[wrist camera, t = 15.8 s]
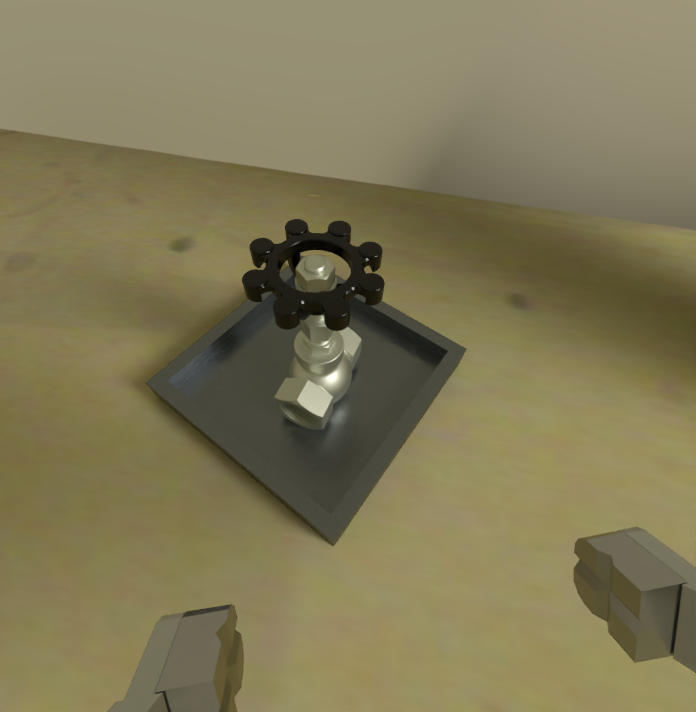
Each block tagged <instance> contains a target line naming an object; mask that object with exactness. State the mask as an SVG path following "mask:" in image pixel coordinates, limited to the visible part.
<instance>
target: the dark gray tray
mask: <svg viewBox="0 0 696 712" xmlns="http://www.w3.org/2000/svg"><path fill="white" fill-rule="evenodd" d="M300 257H301V260H302V258H303V256H300ZM279 275H280V277H281V279H282V280H283V281H284V282H285V283H286V284H287V285H289V286H290V287H292V288H294V289H296V286H295V277H294V275H293V273H292V271H291V269H290V266H288V267H287V268H286V269H284V270H283V271H282V272H281V273H280V274H279ZM336 278H337V284H341V283H344V282H346V280H344V279H342V278H340V277H338V276H337V275H336ZM261 296H262V300H263V301H262V302H253V301H250V300H249V299H248V300H246V301H245V302H244V303H243V304H242V305H240V306H239V307H238V308H237V309H235V310H234V311H233V312H232V313H231V314H229V315H228V316H227V317H226V318H224V319H223V320H222V321H221V322H220V323H218V324H217V325H216V326H215V327H213V328H212V329H211V330H210V331H209V332H207V333H206V334H205V335H204V336H202V337H201V338H200V339H199V340H198V341H196V342H195V343H194V344H193V345H191V346H190V347H189V348H188V349H187V350H185V351H184V352H183V353H182V354H180V355H179V356H178V357H177V358H176V359H174V360H173V361H172V362H171V363H169V364H168V365H167V366H166V367H165V368H163V369H162V370H161V371H160V372H158V373H157V374H156V375H155V376H154V377H152V378H151V379H150V380H149V381H147V382H146V384H147V385H148V386H149V387H150V388H151V390H152V391H153V392H154V393H155V394H156V395H157V396H158V397H159V398H160V399H161V400H162V401H163V402H165V403H166V404H167V405H168V406H169V407H170V408H172V409H173V410H174V411H175V412H176V413H178V414H179V415H180V416H181V417H182V418H183V419H185V420H186V421H187V422H188V423H189V424H190V425H192V426H193V427H194V428H195V429H196V430H198V431H199V432H200V433H201V434H202V435H203V436H205V437H206V438H207V439H208V440H209V441H211V442H212V443H213V444H214V445H215V446H216V447H218V448H219V449H220V450H221V451H222V452H223V453H225V454H226V455H227V456H228V457H229V458H231V459H232V460H233V461H234V462H235V463H236V464H238V465H239V466H240V467H241V468H242V469H243V470H245V471H246V472H247V473H248V474H249V475H251V476H252V477H253V478H254V479H255V480H256V481H258V482H259V483H260V484H261V485H262V486H264V487H265V488H266V489H267V490H268V491H269V492H271V493H272V494H273V495H274V496H275V497H276V498H278V499H279V500H280V501H281V502H282V503H284V504H285V505H286V506H287V507H288V508H289V509H291V510H292V511H293V512H294V513H295V514H296V515H298V516H299V517H300V518H301V519H302V520H304V521H305V522H306V523H307V524H308V525H309V526H311V527H312V528H313V529H314V530H315V531H316V532H318V533H319V534H320V535H321V536H322V537H324V538H325V539H326V540H327V541H328V542H329V543H331V544H332V545H333V546H334V545H335V544H336V542H337V541H338V539H339V538H340V537H341V535H342V534H343V532H344V531H345V529H346V528H347V526H348V525H349V523H350V522H351V520H352V519H353V518H354V516H355V515H356V513H357V512H358V510H359V509H360V507H361V506H362V504H363V503H364V501H365V500H366V498H367V497H368V496H369V494H370V493H371V491H372V490H373V488H374V487H375V485H376V484H377V482H378V481H379V479H380V478H381V477H382V475H383V474H384V472H385V471H386V469H387V468H388V466H389V465H390V463H391V462H392V460H393V459H394V458H395V456H396V455H397V453H398V452H399V450H400V449H401V447H402V446H403V444H404V443H405V441H406V440H407V438H408V437H409V436H410V434H411V433H412V431H413V430H414V428H415V427H416V425H417V424H418V422H419V421H420V419H421V418H422V417H423V415H424V414H425V412H426V411H427V409H428V408H429V406H430V405H431V403H432V402H433V400H434V399H435V398H436V396H437V395H438V393H439V392H440V390H441V389H442V387H443V386H444V384H445V383H446V381H447V380H448V379H449V377H450V376H451V374H452V373H453V371H454V370H455V368H456V367H457V365H458V364H459V362H460V360H461V359H462V357H463V355H464V353H465V351H466V348H464V347H462V346H460V345H459V344H457V343H455V342H453V341H452V340H450V339H448V338H446V337H444V336H443V335H441V334H439V333H437V332H436V331H434V330H432V329H430V328H429V327H427V326H425V325H423V324H421V323H420V322H418V321H416V320H414V319H413V318H411V317H409V316H407V315H406V314H404V313H402V312H400V311H399V310H397V309H395V308H393V307H391V306H390V305H388V304H386V303H384V302H383V301H381V302H380V303H378V304H377V305H373V306H369V305H365V299H366V298H365V297H363V296H362V295H359V294H356V295H355V296H354V297H353V298H352V299H351V300H350V301H348V302H349V304H350V308H351V309H350V323H349V325H348V328H350V329H351V330H353V331H354V332H355V333H356V334H357V335H358V336H359V337H360V338H361V339H362V346H361V352H360V355H359V358H358V360H357V362H356V364H355V366H354V368H353V370H352V379H351V383H350V386H349V388H348V390H347V391H346V393H345V394H344V396H343V397H342V398H341V399H340V400H338V401H337V402H336V403H334V404H333V411H332V413H331V415H330V417H329V419H328V421H327V423H326V425H325V427H324V429H320V430H314V429H308V428H305V427H302V426H300V425H298V424H296V423H294V422H292V421H290V420H289V419H287V418H286V417H284V416H283V415H282V414H281V413H280V412H279V411H278V410H277V409H276V407H275V403H274V397H275V395H276V393H277V392H278V390H279V388H280V387H281V385H282V383H283V382H284V380H285V378H288V377H289V369H290V365H291V363H292V360H293V359H294V357H295V350H294V341H295V338H296V336H297V334H298V333H299V332H300V331H301V323H300V324H299V325H298V326H297V327H296V328H294V329H290V330H285V329H281V328H280V327H278V326H277V324H276V322H275V318H274V313H273V308H272V307H273V303H274V301H275V300H276V299H277V297H276V296H275V295H274V294H273V293H272V292H265V293H263V294H261Z"/></svg>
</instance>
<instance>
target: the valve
mask: <svg viewBox="0 0 696 712" xmlns="http://www.w3.org/2000/svg"><path fill="white" fill-rule="evenodd" d="M285 232H286V241H284V242H282V243H280V244H273V242H272V241H271V240H269V239H267V238H258V239H255V240H254V241H252V242H251V244H250V252H251V256H252V260H253V264H254V265H255V266H256V267H258V268H260V267H261V265H262V264H263V262H265V263H266V267H265V269H264V270H257V269H255V270H250V271H248V272H246V273H245V274H244V276H243V278H242V283H243V286H244V290H245V293H246V296H247V298H248V299H249V300H250V301H253V302H262V301H263V300H262V296H261V294H263V293H265V292H272V293H273V294H274V295H275V296H276V297H277V299H276V300H275V301H274V303H273V307H272V308H273V313H274V318H275V322H276V324H277V326H278V327H280V328H281V329H285V330H290V329H294V328H296V327H297V326H298V325H299V324H300V323H301V331H300V332H299V333H298V334H297V336H296V338H295V341H294V350H295V357H294V359H293V360H292V363H291V365H290V369H289V377H288V378H285V380H284V382H283V383H282V385H281V387H280V388H279V390H278V392H277V393H276V395H275V397H274V403H275V407H276V409H277V410H278V411H279V412H280V413H281V414H282V415H283V416H284V417H286V418H287V419H289V420H290V421H292V422H294V423H296V424H298V425H300V426H302V427H305V428H308V429H314V430H320V429H324V427H325V425H326V423H327V421H328V419H329V417H330V415H331V413H332V411H333V404H334V403H336V402H337V401H338V400H340V399H341V398H342V397H343V396H344V394H345V393H346V391H347V390H348V388H349V386H350V383H351V379H352V370H353V368H354V366H355V364H356V362H357V360H358V358H359V355H360V352H361V346H362V339H361V338H360V337H359V336H358V335H357V334H356V333H355V332H354V331H353V330H351V329H350V328H348V325H349V323H350V309H351V308H350V304H349V302H348V301H350V300H351V299H352V298H353V297H354V296H355V295H356V294H359V295H362V296H363V297H365V298H366V299H365V305H369V306H373V305H377V304H378V303H380V302H381V300H382V297H383V291H384V284H385V283H384V280H383V278H382V277H381V276H379V275H378V274H374V273H368V274H366V273H365V271H364V267H366V266H369V265H370V267H371V269H372V271H373V272H375V271H377V270H378V269H379V268H380V265H381V258H382V247H381V246H380V245H379V244H377V243H375V242H365V243H363V244H361V245H360V247H355V246H352V245H351V244H350V239H351V227H350V225H349V224H348V223H347V222H344V221H334V222H332V223H331V224H330V225H329V226H328V231H327V232H326V233H322V234H321V233H311V232H309V230H308V225H307V223H306V222H305V221H303V220H300V219H293V220H290V221H289V222H287V223H286V225H285ZM308 250H324V251H328V252H332V253H334V254H336V255H338V256H340V257H341V258H343V259H344V260H345V261H346V262H347V263H348V265H349V267H350V269H351V274H350V277H349V278H348V279H347V281H346V282H344V283H341V284H337V278H336V275H335V266H334V265H333V263H332V262H331V261H330V260H329V259H328V258H327V257H325V256H323V255H310V256H305V257H303V258H302V260H301V257H300V252H304V251H308ZM286 260H288V263H289V266H290V269H291V271H292V273H293V275H294V277H295V286H296V289H294V288H292V287H290V286H289V285H287V284H286V283H285V282H284V281H283V280H282V279H281V277H280V275H279V274H280V269H281V267H282V265H283V264H284V262H285V261H286Z"/></svg>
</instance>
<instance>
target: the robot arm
mask: <svg viewBox="0 0 696 712" xmlns="http://www.w3.org/2000/svg"><path fill="white" fill-rule="evenodd" d="M574 553H575V554H576V555H577V557H578V558H579V559H580V560H579V561H578V563H577V564H576V566H575V567H574V583H575V586H576V589H577V592H578V594H579V596H580V597H581V599H582V601H583V603H584V604H585V605H586V606H587V608H588V609H589V610H590V611H591V612H592V614H594V615H596V616H598V617H599V618H601V619H603V620H605V621H607V625H608V632H609V634H610V635H611V636H612V637H613V638H614V639H615V640H616V642H617V643H618V644H619V645H620V646H621V647H622V649H623V650H624V651H625V652H626V653H627V654H628V656H629V657H630V658H631V659H632V660H633V661H634V662H635V663H636V662H642V661H647V660H652V659H658V658H663V657H668V656H673V658H674V659H675V660H677V661H678V662H680V663H681V664H683V665H684V666H686V667H688V668H689V669H691V670H692V671H694V672H695V673H696V567H694V566H693V565H692V564H690V563H689V562H688V561H686V560H685V559H684V558H682V557H681V556H679V555H678V554H677V553H675V552H674V551H673V550H671V549H670V548H669V547H667V546H666V545H665V544H663V543H662V542H661V541H659V540H658V539H657V538H655V537H654V536H652V535H651V534H650V533H648V532H647V531H646V530H644V529H641V528H639V527H633V528H628V529H623V530H618V531H616V532H609V533H604V534H599V535H594V536H589V537H584V538H579V539H578V540H577V541H576V543H575V550H574ZM236 623H237V614H236V610H235V606H234V605H232V604H231V605H225V606H218V607H212V608H206V609H200V610H194V611H187V612H185V613H178V614H172V615H166V616H162V617H161V618H160V619H159V621H158V622H157V623H156V625H155V628H154V630H153V632H152V635H151V637H150V639H149V642H148V644H147V647H146V649H145V651H144V654H143V656H142V658H141V661H140V663H139V666H138V668H137V670H136V673H135V675H134V677H133V680H132V682H131V685H130V687H129V689H128V692H127V694H126V696H125V699H124V700H123V701H119V702H116V703H115V704H114V705H113V706H112V707H111V708H110V709H109V710H108V711H107V712H237V708H236V704H235V699H234V697H235V696H236V695H237V693H238V692H239V690H240V689H241V685H242V678H243V665H244V652H243V642H242V637H241V634H240V633H239V632H238V631H236V630H235V628H236Z"/></svg>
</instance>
